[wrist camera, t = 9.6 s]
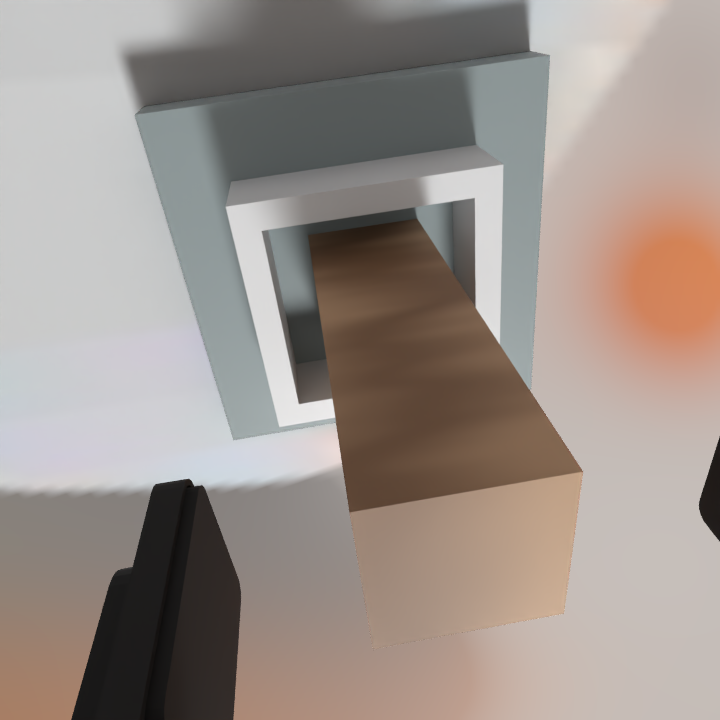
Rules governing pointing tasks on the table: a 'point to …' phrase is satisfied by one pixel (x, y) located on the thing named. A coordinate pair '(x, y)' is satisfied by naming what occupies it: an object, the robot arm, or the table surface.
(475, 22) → the table surface
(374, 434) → the rail post
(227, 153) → the bracket
